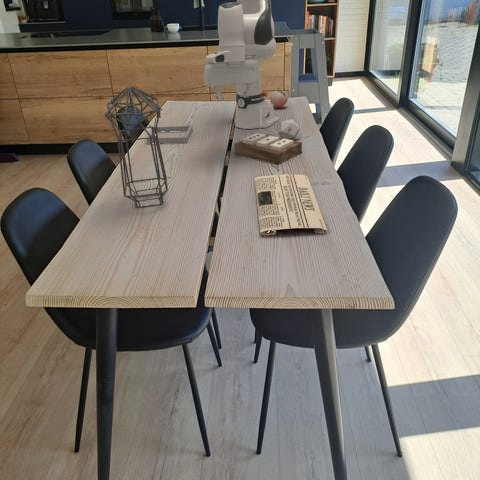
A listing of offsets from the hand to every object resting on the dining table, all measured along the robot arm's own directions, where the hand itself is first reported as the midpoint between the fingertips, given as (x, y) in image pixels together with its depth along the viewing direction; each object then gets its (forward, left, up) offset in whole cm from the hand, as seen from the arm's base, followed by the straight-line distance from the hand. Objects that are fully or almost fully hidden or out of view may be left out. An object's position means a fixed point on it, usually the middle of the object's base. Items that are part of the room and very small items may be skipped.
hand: (233, 98), depth 160 cm
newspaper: (+20, +38, -23) cm, 49 cm away
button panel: (-12, +5, -23) cm, 26 cm away
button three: (-12, -1, -20) cm, 24 cm away
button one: (-12, +5, -20) cm, 24 cm away
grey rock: (-30, +2, -23) cm, 38 cm away
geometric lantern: (+43, 0, -23) cm, 49 cm away
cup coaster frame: (-5, -43, -23) cm, 49 cm away
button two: (-12, +12, -20) cm, 27 cm away
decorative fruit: (-68, -31, -23) cm, 78 cm away
